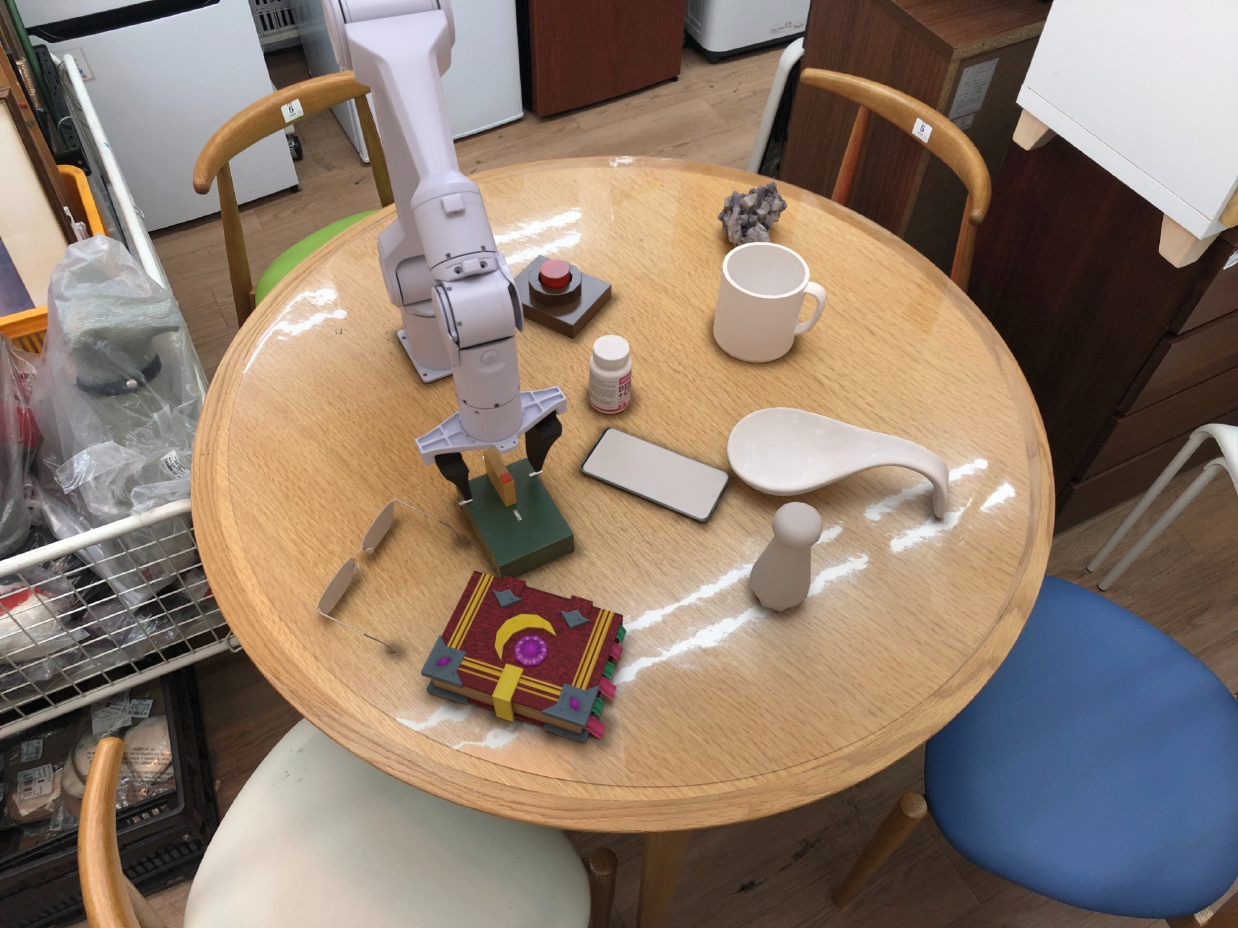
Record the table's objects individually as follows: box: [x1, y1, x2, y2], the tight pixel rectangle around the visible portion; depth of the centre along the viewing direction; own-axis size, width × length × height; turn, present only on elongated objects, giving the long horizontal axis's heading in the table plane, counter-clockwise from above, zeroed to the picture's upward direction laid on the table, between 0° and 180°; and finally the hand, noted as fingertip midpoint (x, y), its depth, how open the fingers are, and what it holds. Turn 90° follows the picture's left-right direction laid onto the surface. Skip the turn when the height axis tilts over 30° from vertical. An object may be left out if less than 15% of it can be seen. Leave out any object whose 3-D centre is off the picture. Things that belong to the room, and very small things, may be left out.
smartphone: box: [580, 426, 731, 522], centre depth 96 cm, size 7×1×15 cm
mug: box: [712, 242, 827, 364], centre depth 106 cm, size 13×10×10 cm
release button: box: [540, 258, 570, 289], centre depth 109 cm, size 4×4×2 cm
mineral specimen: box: [717, 180, 788, 248], centre depth 119 cm, size 12×9×10 cm
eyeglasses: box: [314, 498, 465, 653], centre depth 86 cm, size 14×8×4 cm, turn 157°
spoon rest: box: [726, 406, 950, 519], centre depth 93 cm, size 24×12×7 cm, turn 77°
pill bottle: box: [588, 334, 633, 415], centre depth 99 cm, size 5×5×8 cm
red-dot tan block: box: [482, 448, 517, 507], centre depth 89 cm, size 5×1×4 cm, turn 29°
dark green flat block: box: [455, 455, 575, 579], centre depth 91 cm, size 13×9×3 cm
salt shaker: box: [749, 501, 824, 613], centre depth 82 cm, size 6×6×13 cm
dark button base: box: [513, 254, 612, 339], centre depth 111 cm, size 11×9×4 cm
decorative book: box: [420, 569, 627, 745], centre depth 80 cm, size 11×16×5 cm
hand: (500, 478), depth 89 cm, fingers open, 7 cm apart
